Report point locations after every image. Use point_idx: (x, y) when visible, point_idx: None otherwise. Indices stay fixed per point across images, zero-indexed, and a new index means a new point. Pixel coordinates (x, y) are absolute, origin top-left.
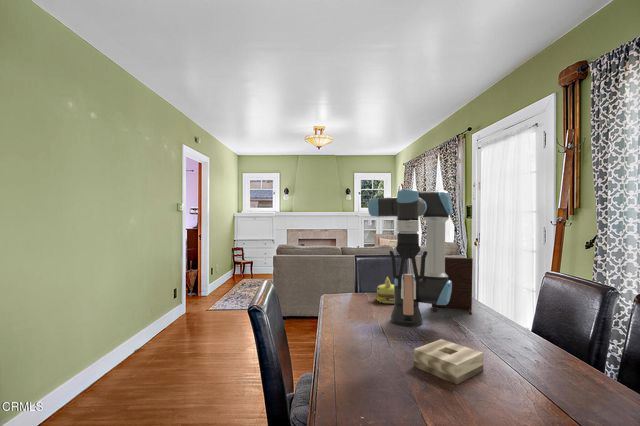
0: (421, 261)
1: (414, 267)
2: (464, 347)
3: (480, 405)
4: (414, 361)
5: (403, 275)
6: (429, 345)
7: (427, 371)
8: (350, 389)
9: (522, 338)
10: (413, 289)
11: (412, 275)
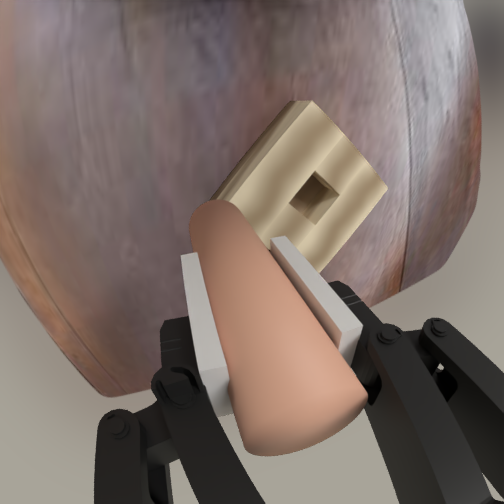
0: (495, 474)
1: (404, 481)
2: (360, 161)
3: None
4: None
5: (249, 446)
6: (268, 169)
7: None
8: (105, 338)
9: (451, 13)
10: None
11: (346, 422)
